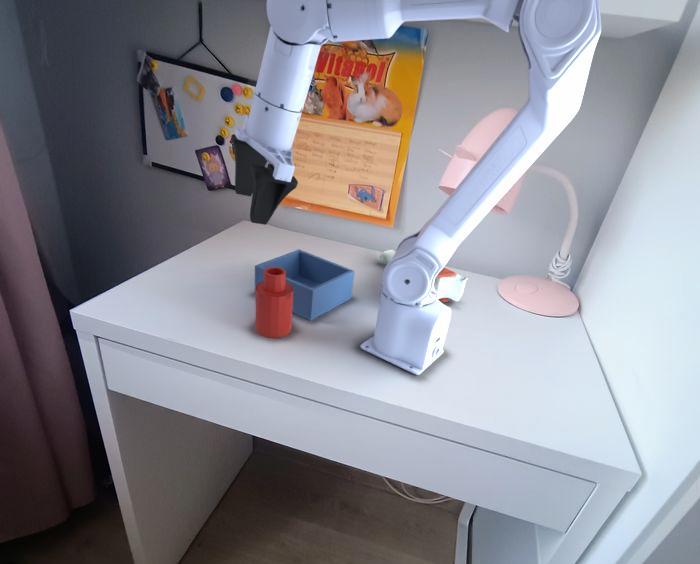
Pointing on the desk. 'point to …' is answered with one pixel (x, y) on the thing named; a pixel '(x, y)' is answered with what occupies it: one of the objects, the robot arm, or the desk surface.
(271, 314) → the bottle
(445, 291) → the tape dispenser
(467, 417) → the desk surface
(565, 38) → the robot arm
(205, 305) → the desk surface
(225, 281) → the desk surface
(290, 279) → the tub
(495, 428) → the desk surface
